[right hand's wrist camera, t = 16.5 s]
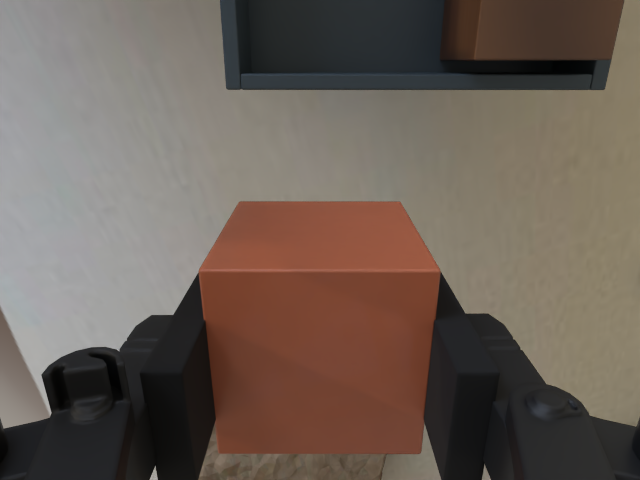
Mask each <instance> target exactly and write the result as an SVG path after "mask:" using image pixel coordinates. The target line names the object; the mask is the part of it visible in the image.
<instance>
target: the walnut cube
mask: <svg viewBox="0 0 640 480" xmlns="http://www.w3.org/2000/svg"><path fill="white" fill-rule="evenodd" d="M623 3H624V0H445V2H444V14H443V25H442V36H441V48H440V61H562V60H610V59H611V58H612V54H613V49H614V45H615V40H616V36H617V31H618V26H619V22H620V17H621V13H622V8H623Z"/></svg>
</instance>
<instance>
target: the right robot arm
mask: <svg viewBox="0 0 640 480" xmlns="http://www.w3.org/2000/svg"><path fill="white" fill-rule="evenodd" d="M42 378H43V382H44V386H45V390H46V393H47V397H48V401H49V405H50V408H51V412H52V414H51V416H50V418H48V419H44V420H41V421H37V422H32V423H28V424H23V425H19V426H14V427H9V428H5V429H3V426H2V423H1V419H0V480H149V479H150V477H151V475H152V472H153V470H154V467H155V465H156V471H157V477H158V480H198V479H199V475H200V472H201V469H202V465H203V462H204V458H205V455H206V452H207V448H208V445H209V441H210V438H211V435H212V431H213V428H214V424H215V421H216V416H215V406H214V397H213V387H212V378H211V369H210V359H209V350H208V340H207V331H206V322H205V320H204V318H203V308H202V299H201V290H200V280H199V273H198V274H197V276H196V278H195V279H194V281H193V283H192V284H191V286H190V288H189V290H188V291H187V293H186V295H185V296H184V298H183V300H182V301H181V303H180V305H179V307H178V308H177V310H176V312H175V313H174V315H151V316H150V317H148V318H147V319H146V320H144V321H143V322H141V323H140V324H138V325H137V326H136V327H135V328H134V330H133V331H132V332H131V334H130V335H129V337H128V338H127V341H125V342H124V344H123V345H122V347H121V348H120V352H119V351H117V350H116V349H111V348H107V347H91V348H87V349H83V350H78V351H75V352H72V353H70V354H68V355H65V356H63V357H61V358H59V359H58V360H56V361H55V362H54V363H52V364H51V365H49V366H48V367H47V369H46V370H45V371H44V372H43V374H42ZM424 422H425V425H426V429H427V432H428V436H429V439H430V442H431V446H432V449H433V453H434V456H435V460H436V463H437V466H438V470H439V473H440V477H441V480H482V475H483V469H484V463H485V466H486V468H487V471H488V473H489V476H490V478H491V480H640V418H639V421H638V424H637V427H635V426H630V425H626V424H621V423H617V422H612V421H607V420H603V419H599V418H596V417H592V416H590V415H589V413H588V411H587V410H586V409H585V407H584V406H583V404H582V403H581V402H580V401H579V400H577V399H576V398H575V397H574V396H572V395H571V394H570V393H568V392H565V391H563V390H561V389H559V388H557V387H555V386H551V385H547V384H546V383H545V382H544V380H543V379H542V377H541V376H540V375H539V373H538V372H537V370H536V369H535V368H534V366H533V365H532V363H531V362H530V361H529V359H528V358H527V356H526V355H525V354H524V352H523V351H522V350H520V347H519V345H518V344H517V342H516V341H515V340H513V337H512V335H511V334H510V332H509V331H508V330H507V328H506V327H505V325H504V324H502V323H501V322H499V321H498V320H496V319H495V318H494V317H492V316H491V315H489V314H465V312H464V310H463V309H462V307H461V305H460V304H459V302H458V300H457V299H456V297H455V295H454V293H453V292H452V290H451V288H450V287H449V285H448V283H447V282H446V280H445V278H444V276H443V275H442V273H440V282H439V291H438V301H437V310H436V319H435V320H434V327H433V337H432V346H431V355H430V365H429V374H428V384H427V393H426V403H425V412H424Z"/></svg>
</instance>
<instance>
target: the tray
mask: <svg viewBox="0 0 640 480" xmlns="http://www.w3.org/2000/svg"><path fill="white" fill-rule="evenodd" d="M444 2H445V0H220V7H221V21H222V36H223V50H224V64H225V78H226V88H227V89H228V90H240V89H243V90H604V89H605V86H606V81H607V77H608V72H609V68H610V63H611V59H610V60H562V61H440V48H441V36H442V25H443V14H444ZM623 4H624V3H623ZM622 9H623V8H622ZM620 18H621V17H620ZM618 27H619V26H618Z"/></svg>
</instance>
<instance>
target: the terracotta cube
mask: <svg viewBox="0 0 640 480" xmlns="http://www.w3.org/2000/svg"><path fill="white" fill-rule="evenodd" d="M440 273H441V271H440V269H439V267H438V265H437V264H436V262H435V260H434V259H433V257H432V255H431V253H430V252H429V250H428V248H427V247H426V245H425V243H424V241H423V240H422V238H421V236H420V235H419V233H418V231H417V230H416V228H415V226H414V224H413V223H412V221H411V219H410V218H409V216H408V214H407V212H406V211H405V209H404V207H403V206H402V204H401V202H239V203H238V205H237V206H236V208H235V210H234V211H233V213H232V215H231V216H230V218H229V220H228V222H227V223H226V225H225V227H224V228H223V230H222V232H221V233H220V235H219V237H218V238H217V240H216V242H215V244H214V245H213V247H212V249H211V250H210V252H209V254H208V255H207V257H206V259H205V260H204V262H203V264H202V266H201V267H200V269H199V280H200V290H201V299H202V308H203V318H204V320H205V322H206V331H207V340H208V350H209V359H210V369H211V378H212V387H213V397H214V406H215V416H216V421H215V430H216V439H217V448H218V453H219V454H420V453H421V449H422V439H423V430H424V412H425V403H426V393H427V384H428V374H429V365H430V355H431V346H432V337H433V327H434V320H435V319H436V310H437V301H438V291H439V282H440Z"/></svg>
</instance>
